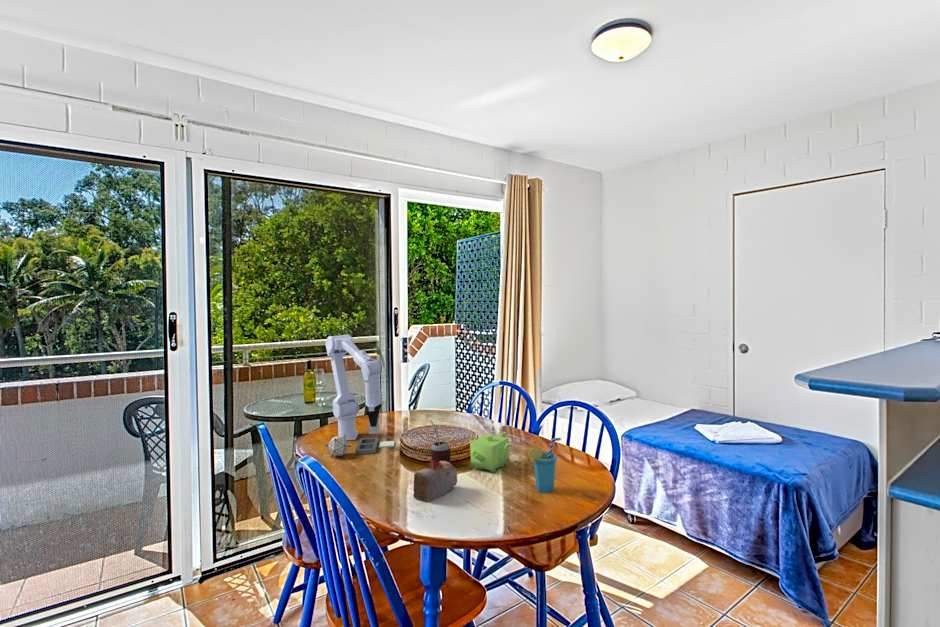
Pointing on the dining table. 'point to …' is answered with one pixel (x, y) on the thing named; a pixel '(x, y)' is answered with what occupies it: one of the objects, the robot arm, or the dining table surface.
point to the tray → (386, 444)
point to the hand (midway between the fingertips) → (374, 424)
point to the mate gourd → (440, 450)
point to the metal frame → (367, 446)
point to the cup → (544, 467)
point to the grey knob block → (374, 429)
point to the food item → (434, 480)
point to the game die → (338, 446)
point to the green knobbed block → (489, 452)
